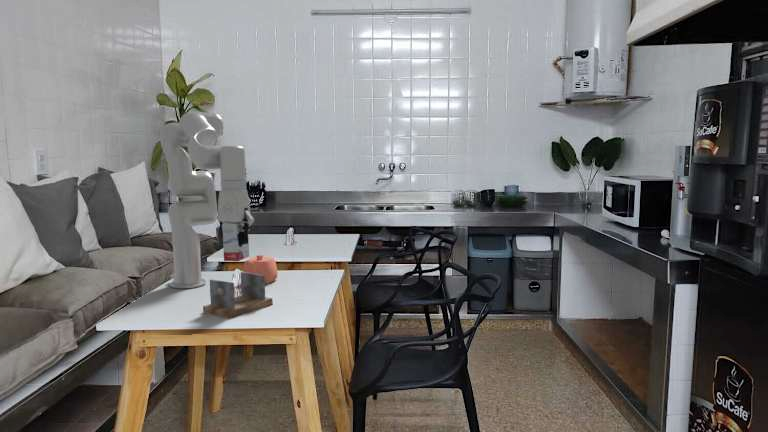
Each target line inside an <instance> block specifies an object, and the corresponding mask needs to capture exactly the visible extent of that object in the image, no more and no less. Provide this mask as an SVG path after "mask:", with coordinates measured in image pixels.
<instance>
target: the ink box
mask: <svg viewBox="0 0 768 432" xmlns="http://www.w3.org/2000/svg"><path fill="white" fill-rule="evenodd" d="M222 226H223V230H222V241H223V242H222V245H223V247H222V248H223V261H224V262H239V261H242V260H244V259H247V258H249V257H250V239H249V238H248V244H243V245H240V243H239V232H241V231H240V228H239V224H238V223H227V222H225V223H223V224H222ZM243 226H244V224H243Z"/></svg>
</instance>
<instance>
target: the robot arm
mask: <svg viewBox="0 0 768 432" xmlns="http://www.w3.org/2000/svg"><path fill="white" fill-rule="evenodd" d="M223 132H224V121H223V118H222V116H220V115H219V114H218V113H216V112H207V111H206V112H205V111H204V112H203V111H201V112H200V111H189V112H186V113H184V114H183V115H182V116H181V117H180V119H179V122H172V123H166V124H164V125H163V126H162V127H161V129H160V133H159V140H160V145H161V149H162V151H163V154H164V156H165V159H166V163H167V172H168V181H169V182H168V183H169V190H170V193H171V195H172V196H174V197H176V198H193V197H197V198H198V197H199V198H200V199H197V200H192V199H191V200H181V201H180V200H179V201H175V202H173V203H171V204H170V206H169V207H168V210H167V211H168V212H167V216H168V220H169V224H170V227H171V228H170V229H171V239H172V255H173V273H171V274H170V275H169V277H170V278H173V280H172V281H171V282H170V287H171V288H174V289H194V288H199V287H202V286H205V285H206V284H207V280H206V279H204V278H202V265H201V261H202V260H201V243H200V237H199V235H198V232H196V230H195V229H194V228H193V227H196V226H207V225H212V224H214V223H216V221H217V222H218V223H219V225H220V227H221V230H222V231H223V226H222V224H223V223H225V222H227V223H238V224H239V228H240V231H241V232H239V243H240V245H243V244H248V239H249V231H251V230H250V229H251V227H252V225H253V224H254V222H255V218H254V217H253V215H252V214H251V206H250V199H249V194H248V189H247V177H246V176H247V175H246V174H247V173H246V153H245V148H244V147H243V146H240V145H218V144H217V142H218V138H219V137H220V136H221V135H222V134H223ZM216 144H217V145H216ZM184 147H187V151H186V150H185V149H184ZM193 164H194V166H195V167H197V168H198V169H200V170H197V171H196V170H195V171H194V170H193ZM206 170H209V171H210V170H220V190H219V194H218V199H217V194H216V185H215V180H214V177H213V176H212V174H211V173H210V172H208V171H206ZM217 202H218V203H217ZM243 224H244V226H243Z"/></svg>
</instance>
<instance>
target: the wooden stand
mask: <svg viewBox="0 0 768 432" xmlns="http://www.w3.org/2000/svg"><path fill="white" fill-rule="evenodd" d="M240 285H241V287H240V289H241V291H240V292H241V295H238V296H235V283H234V282H229V281H225V280H224V281H223V280H217V279H211V278H210V279H209V291H210V292H209V293H210V294H209V295H210V304H209V303H208V304H206V305H202V312H203V313H204V314H208V315H213V316H217V317H223V318H226V319H232V318H235V317H238V316H241V315H244V314H248V313H251V312H253V311H254V312H255V311H257V310H259V309H262V308H266V307H269V306H272V305H273V303H274V302H273V301H274V300H273V298H272V297H267V296H266V284H265V277H264V275H260V274H253V273H246V272H243V271H241V272H240Z"/></svg>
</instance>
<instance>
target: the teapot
mask: <svg viewBox="0 0 768 432" xmlns="http://www.w3.org/2000/svg"><path fill="white" fill-rule="evenodd" d="M243 264H244V265H243V269H242V272H246V273H253V274H260V275H264V277H265V285H266V284H270V283H272V282H274V281H276V280H277V278H278V273H279V272H278V268H277V263H276V259H275V257H269V256H268V257H264V255H263V254H256V256H255V257H253V256H252V257H250V258H248V259H246V260H245V261H244V263H243Z"/></svg>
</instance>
